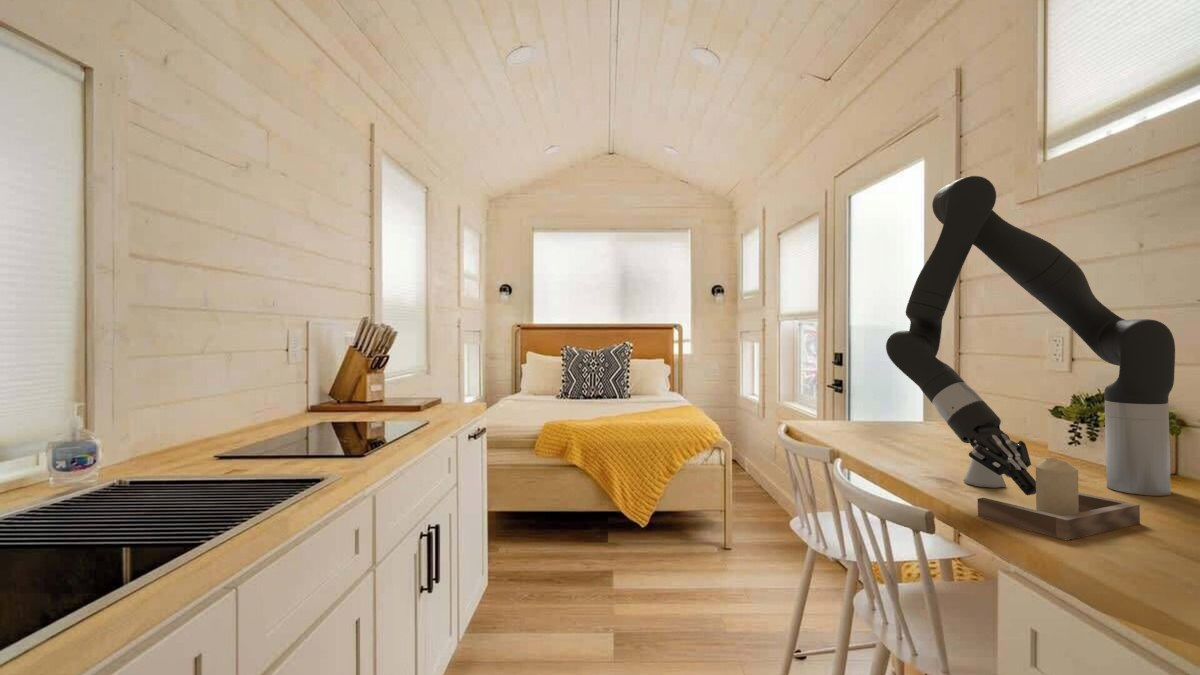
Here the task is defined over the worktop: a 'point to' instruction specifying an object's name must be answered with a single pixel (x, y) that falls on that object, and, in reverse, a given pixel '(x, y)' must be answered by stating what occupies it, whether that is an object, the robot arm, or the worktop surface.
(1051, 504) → the beige milk carton
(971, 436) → the robot arm
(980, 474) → the flask
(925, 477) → the worktop surface
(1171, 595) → the worktop surface
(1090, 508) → the walnut bay
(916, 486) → the worktop surface
